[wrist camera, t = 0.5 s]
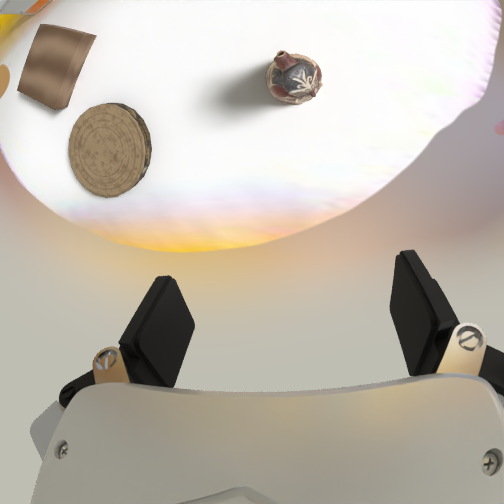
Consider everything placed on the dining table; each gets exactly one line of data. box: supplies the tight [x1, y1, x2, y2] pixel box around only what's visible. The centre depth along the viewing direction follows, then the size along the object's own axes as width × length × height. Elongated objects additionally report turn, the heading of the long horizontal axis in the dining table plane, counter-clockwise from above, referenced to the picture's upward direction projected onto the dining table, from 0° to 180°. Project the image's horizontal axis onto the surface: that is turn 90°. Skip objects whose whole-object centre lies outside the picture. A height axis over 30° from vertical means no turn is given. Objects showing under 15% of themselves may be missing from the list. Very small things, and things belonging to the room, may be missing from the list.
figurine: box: [266, 51, 322, 105], centre depth 26 cm, size 7×7×12 cm
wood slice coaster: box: [69, 103, 152, 198], centre depth 38 cm, size 16×16×3 cm
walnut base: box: [17, 24, 96, 110], centre depth 29 cm, size 14×14×4 cm
